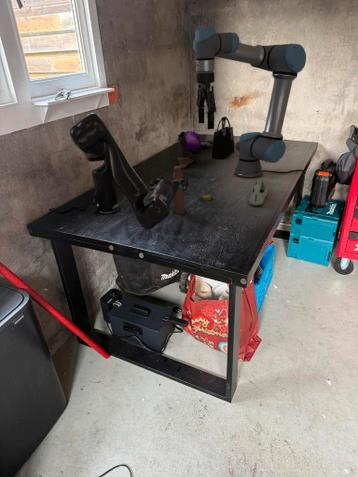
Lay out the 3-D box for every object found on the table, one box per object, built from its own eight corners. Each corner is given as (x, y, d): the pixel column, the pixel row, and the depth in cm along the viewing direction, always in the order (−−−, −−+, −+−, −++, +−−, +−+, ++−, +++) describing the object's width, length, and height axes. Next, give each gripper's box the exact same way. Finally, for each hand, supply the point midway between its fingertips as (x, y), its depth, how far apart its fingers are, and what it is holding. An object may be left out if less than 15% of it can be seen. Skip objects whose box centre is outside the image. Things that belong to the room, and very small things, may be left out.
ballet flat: (269, 188, 169) (270, 173, 165) (265, 208, 149) (266, 191, 145) (252, 187, 171) (253, 172, 167) (246, 206, 151) (247, 190, 147)
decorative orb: (204, 151, 235) (204, 129, 228) (194, 156, 225) (193, 134, 217) (186, 149, 243) (186, 128, 235) (175, 154, 232) (174, 132, 224)
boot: (196, 157, 223) (195, 127, 213) (189, 169, 203) (188, 135, 192) (183, 157, 225) (182, 127, 215) (176, 168, 204) (174, 136, 194)
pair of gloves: (199, 150, 238) (199, 143, 235) (184, 143, 258) (184, 136, 255) (235, 144, 247) (235, 137, 245) (218, 137, 268) (218, 131, 265)
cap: (210, 201, 159) (210, 198, 159) (201, 200, 161) (201, 197, 160) (211, 197, 163) (211, 194, 162) (203, 197, 164) (203, 194, 164)
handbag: (222, 159, 215) (223, 120, 203) (210, 158, 220) (210, 119, 207) (235, 151, 230) (236, 114, 218) (223, 150, 234) (224, 113, 222)
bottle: (174, 214, 149) (171, 168, 138) (175, 209, 153) (172, 165, 142) (184, 214, 149) (182, 168, 138) (185, 209, 153) (182, 165, 142)
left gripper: (183, 184, 114) (189, 169, 128) (143, 183, 117) (154, 168, 131) (184, 203, 118) (190, 187, 132) (145, 202, 120) (155, 186, 134)
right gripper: (188, 71, 144) (190, 121, 154) (205, 74, 123) (206, 132, 133) (204, 70, 145) (205, 120, 156) (224, 73, 124) (223, 130, 135)
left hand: (172, 178), depth 131 cm, fingers open, 8 cm apart
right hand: (205, 126), depth 145 cm, fingers open, 13 cm apart
